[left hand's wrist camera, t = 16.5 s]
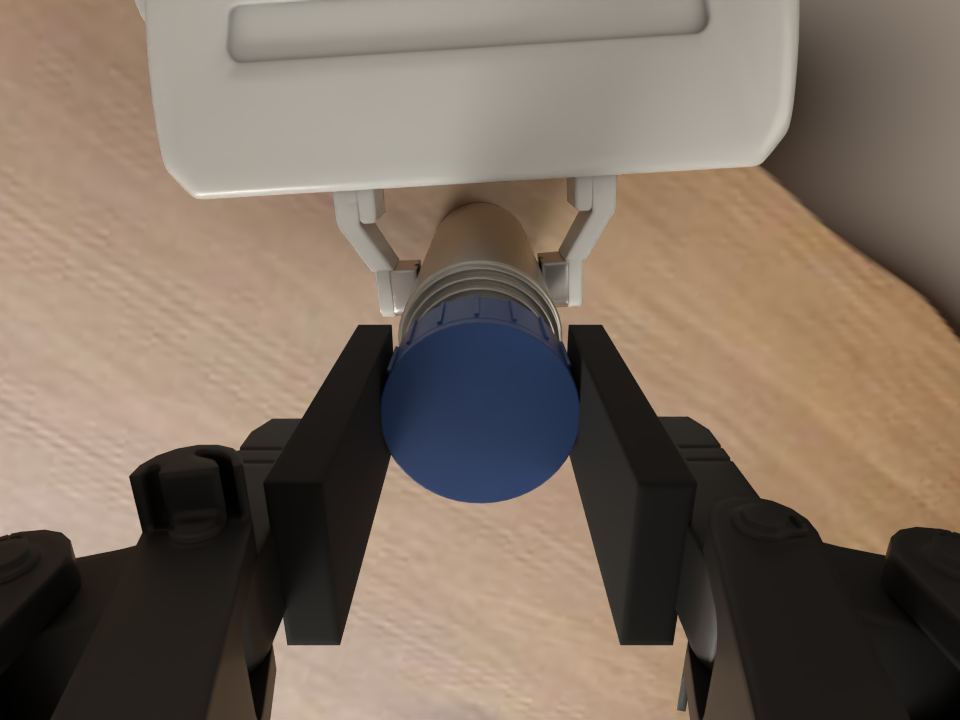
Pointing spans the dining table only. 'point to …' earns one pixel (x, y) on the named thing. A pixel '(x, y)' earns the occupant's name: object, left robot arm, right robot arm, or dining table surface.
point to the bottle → (480, 266)
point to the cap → (480, 401)
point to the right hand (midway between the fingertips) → (482, 307)
